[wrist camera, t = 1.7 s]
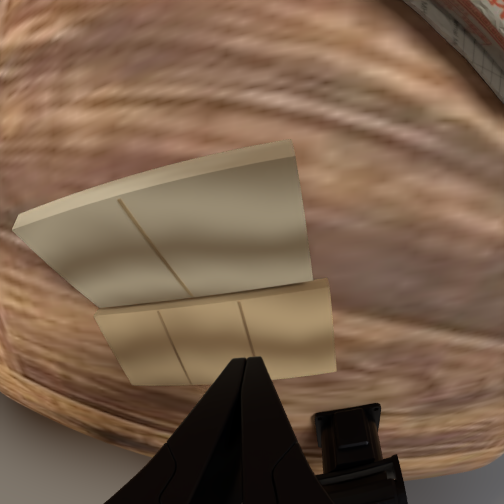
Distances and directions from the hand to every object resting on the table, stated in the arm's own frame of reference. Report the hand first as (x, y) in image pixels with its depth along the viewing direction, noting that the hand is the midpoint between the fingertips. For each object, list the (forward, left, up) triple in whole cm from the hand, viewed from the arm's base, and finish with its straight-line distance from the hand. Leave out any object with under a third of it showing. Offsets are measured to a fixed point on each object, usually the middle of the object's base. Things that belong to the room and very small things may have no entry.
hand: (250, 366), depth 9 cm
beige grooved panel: (+1, +6, -10) cm, 12 cm away
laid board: (-9, +6, -13) cm, 16 cm away
